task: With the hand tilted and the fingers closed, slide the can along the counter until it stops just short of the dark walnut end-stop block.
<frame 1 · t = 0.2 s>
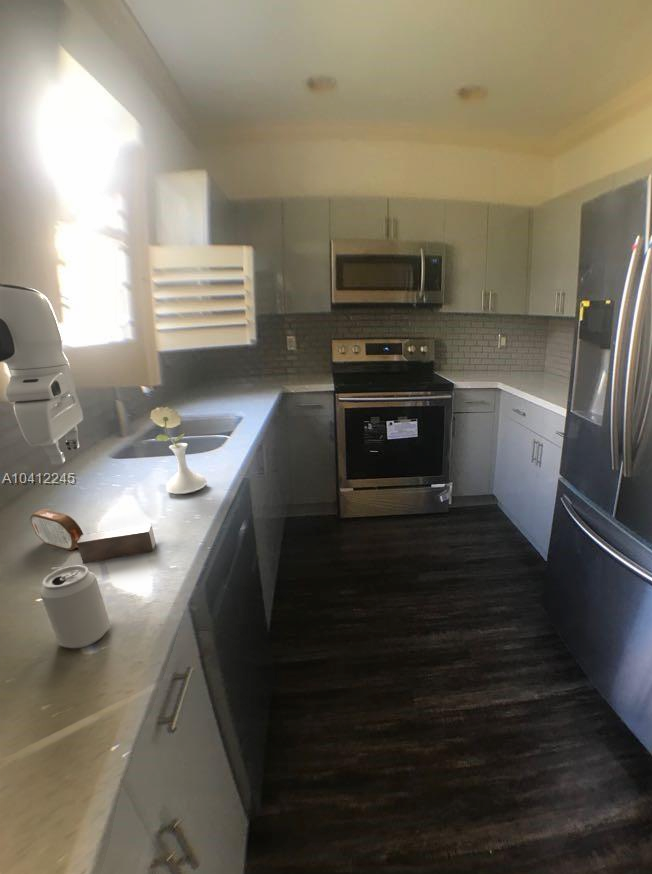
hand: (66, 456, 87), 25 cm above the worktop, tool pointing down, fingers open, 8 cm apart
tin: (61, 546, 106), on the worktop
can: (86, 636, 76), on the worktop
end stop: (120, 552, 102), on the worktop
flower in vase: (185, 490, 136), on the worktop
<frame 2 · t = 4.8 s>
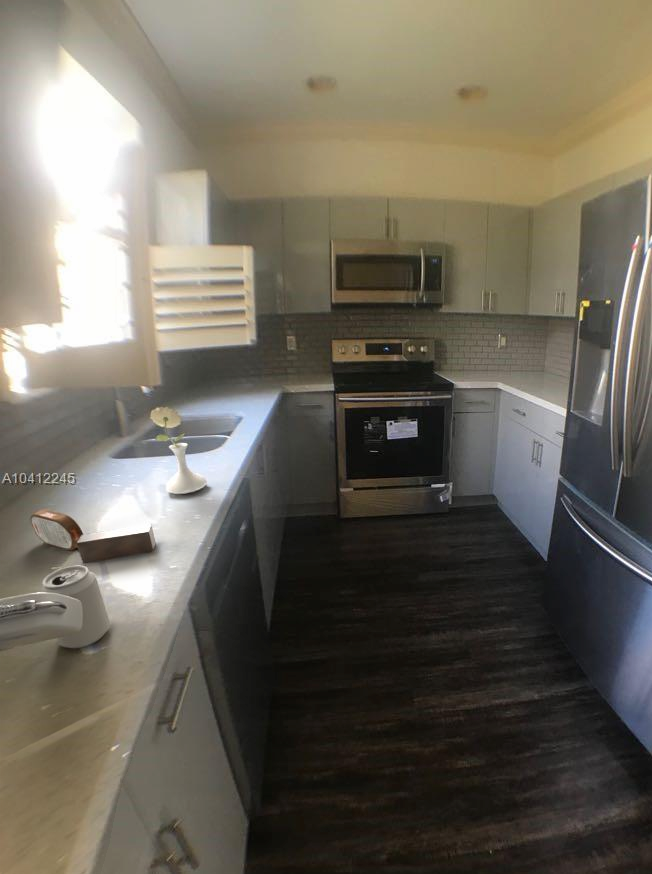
hand: (1, 643, 52), 15 cm above the worktop, tool tilted 45°, fingers closed
nothing on the worktop moved.
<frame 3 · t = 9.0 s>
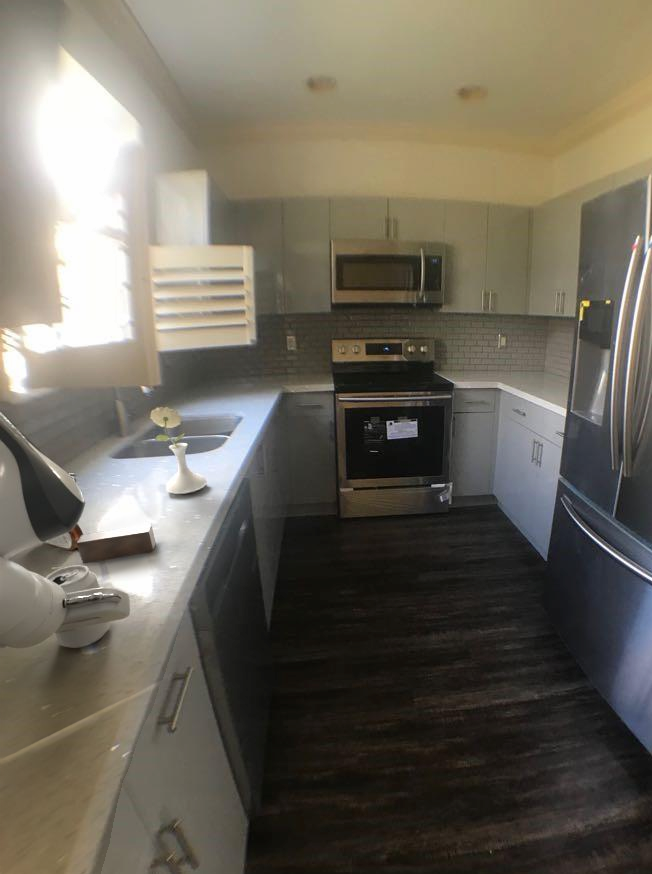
hand: (68, 625, 71), 5 cm above the worktop, tool tilted 45°, fingers closed, pressing on can
can: (86, 636, 77), on the worktop, touching gripper
everything else where it was.
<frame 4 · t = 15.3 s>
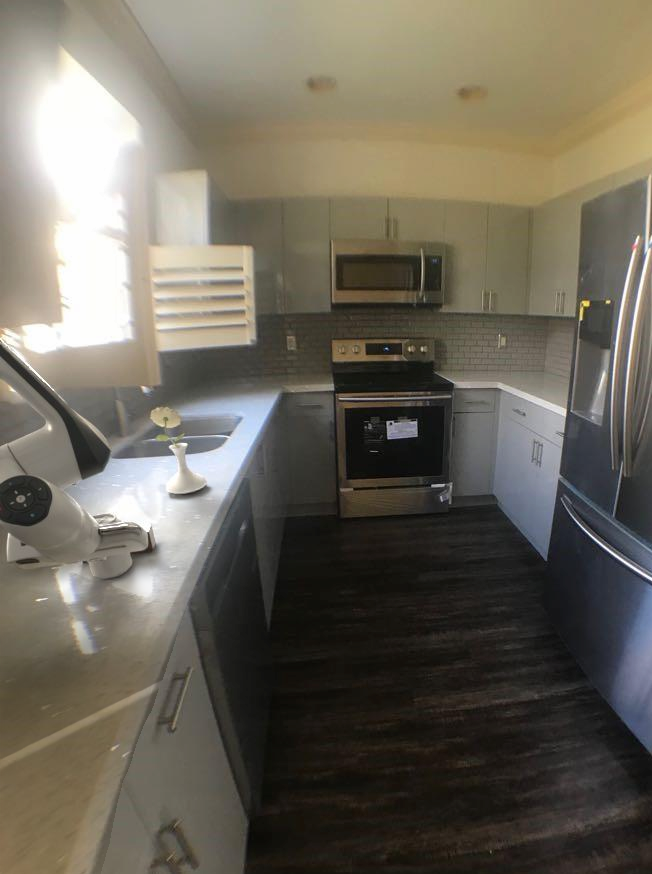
hand: (98, 557, 88), 6 cm above the worktop, tool tilted 45°, fingers closed
can: (113, 571, 95), on the worktop
everything else where it was.
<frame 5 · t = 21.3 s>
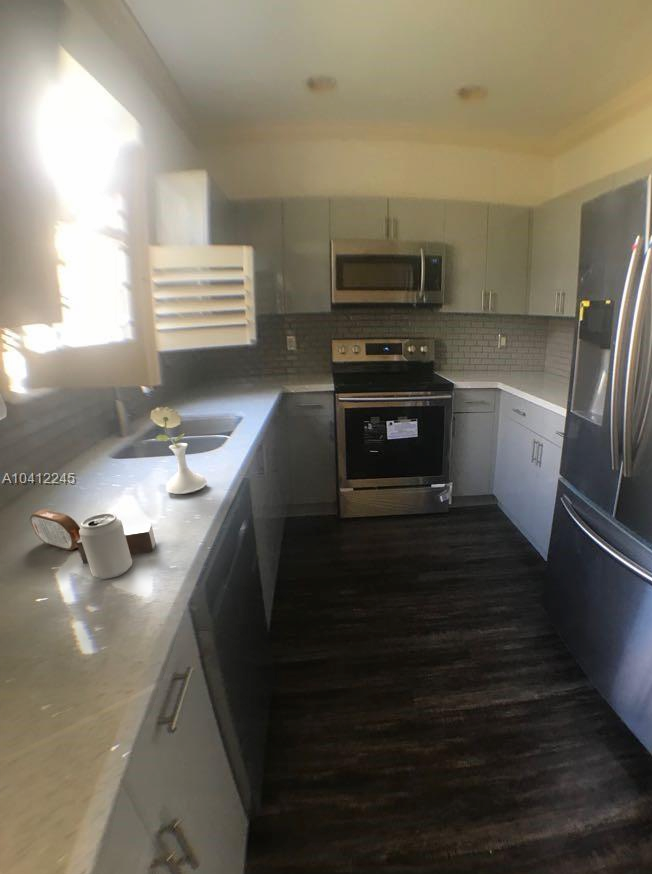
nothing on the worktop moved.
at the end: can inside the target area on the worktop beside the end stop (0.2 cm from its centre), on the worktop; can tilted 0°; can moved 21.2 cm from its start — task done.
